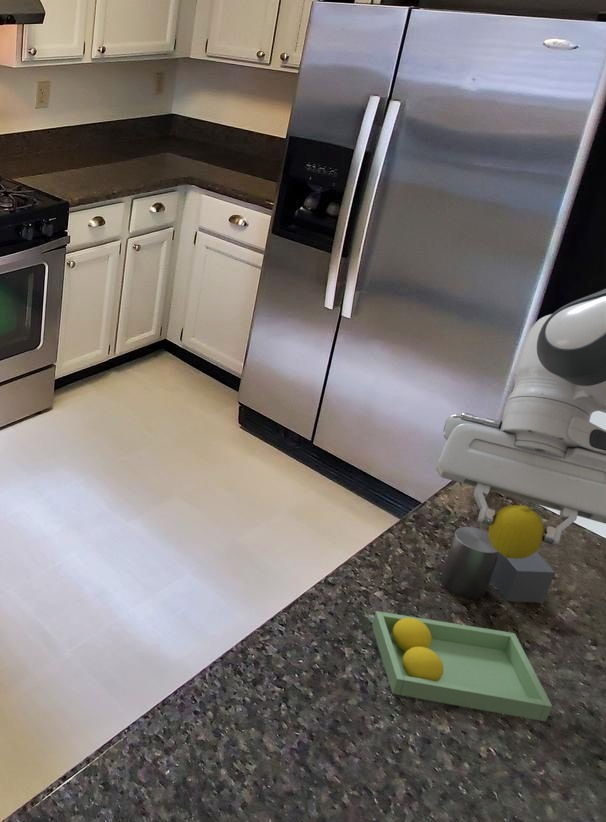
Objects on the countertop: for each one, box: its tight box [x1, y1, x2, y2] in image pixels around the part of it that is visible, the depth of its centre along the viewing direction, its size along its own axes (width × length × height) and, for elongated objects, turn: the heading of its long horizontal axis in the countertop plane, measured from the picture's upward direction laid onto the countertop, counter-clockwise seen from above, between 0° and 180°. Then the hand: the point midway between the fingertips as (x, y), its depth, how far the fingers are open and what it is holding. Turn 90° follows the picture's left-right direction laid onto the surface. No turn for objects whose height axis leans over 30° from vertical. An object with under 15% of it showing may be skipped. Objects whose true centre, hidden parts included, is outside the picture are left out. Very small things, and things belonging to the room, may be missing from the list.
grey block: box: [490, 550, 556, 606], centre depth 113 cm, size 5×5×6 cm
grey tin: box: [439, 526, 500, 601], centre depth 113 cm, size 6×6×9 cm
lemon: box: [488, 504, 545, 559], centre depth 100 cm, size 6×6×8 cm
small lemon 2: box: [402, 647, 443, 681], centre depth 99 cm, size 4×4×4 cm
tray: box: [371, 610, 553, 722], centre depth 101 cm, size 17×12×3 cm
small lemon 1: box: [393, 618, 432, 651], centre depth 103 cm, size 4×4×4 cm
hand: (517, 532), depth 100 cm, fingers closed on lemon, 5 cm apart
